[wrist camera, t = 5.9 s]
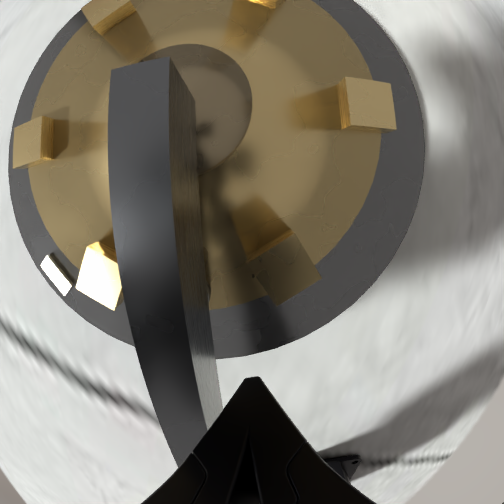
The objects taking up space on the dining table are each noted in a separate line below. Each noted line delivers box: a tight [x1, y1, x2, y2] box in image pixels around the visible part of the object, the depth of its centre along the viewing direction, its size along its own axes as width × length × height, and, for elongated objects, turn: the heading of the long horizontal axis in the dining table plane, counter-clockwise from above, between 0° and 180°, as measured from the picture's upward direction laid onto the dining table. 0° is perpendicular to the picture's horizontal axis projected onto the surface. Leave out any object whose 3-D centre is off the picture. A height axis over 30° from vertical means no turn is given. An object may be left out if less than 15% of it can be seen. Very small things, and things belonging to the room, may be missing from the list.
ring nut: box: [13, 0, 397, 468], centre depth 7 cm, size 14×14×5 cm
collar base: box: [8, 0, 425, 359], centre depth 10 cm, size 19×19×2 cm
